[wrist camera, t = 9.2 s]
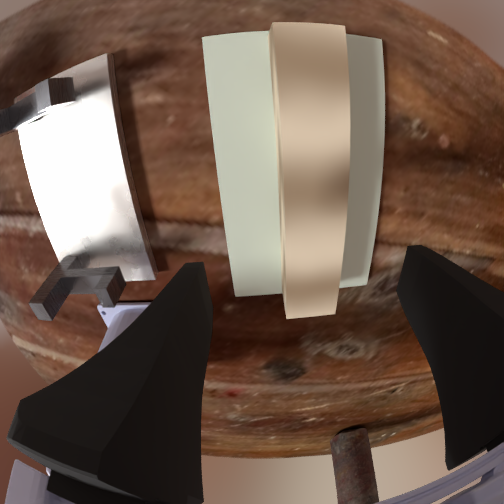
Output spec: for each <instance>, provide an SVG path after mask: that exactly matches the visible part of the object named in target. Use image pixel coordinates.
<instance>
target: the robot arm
mask: <svg viewBox="0 0 504 504" xmlns="http://www.w3.org/2000/svg"><path fill="white" fill-rule="evenodd" d="M396 291H397V294H398V297H399V299H400V302H401V305H402V308H403V310H404V313H405V315H406V317H407V319H408V321H409V323H410V325H411V327H412V329H413V331H414V333H415V335H416V337H417V339H418V341H419V343H420V345H421V347H422V349H423V351H424V353H425V355H426V358H427V360H428V362H429V365H430V367H431V370H432V374H433V377H434V380H435V384H436V387H437V391H438V396H439V400H440V405H441V410H442V416H443V423H444V431H445V447H446V448H445V450H446V452H445V453H446V454H445V458H446V459H445V462H446V466H447V469H448V470H451V469H453V468H455V467H457V466H459V465H461V464H463V463H464V462H466V461H468V460H470V459H472V458H473V457H475V456H477V455H479V454H480V453H482V452H483V451H485V450H487V451H488V453H486V454H485V455H483V456H481V457H480V458H478V459H477V460H475V461H473V462H471V463H469V464H468V465H466V466H464V467H462V468H460V469H458V470H456V471H455V472H453V473H451V474H449V475H447V476H445V477H442V478H440V479H438V480H436V481H434V482H432V483H429V484H427V485H425V486H422V487H420V488H417V489H415V490H412V491H410V492H407V493H405V494H402V495H399V496H396V497H393V498H390V499H387V500H384V501H381V502H377V503H374V504H431V503H433V502H435V501H437V500H439V499H441V498H443V497H445V496H447V495H449V494H451V493H453V492H455V491H457V490H458V489H460V488H462V487H464V486H466V485H467V484H469V483H471V482H472V481H474V480H476V479H477V478H479V477H481V476H482V475H483V476H482V479H481V481H480V482H479V483H478V484H476V485H474V486H472V487H470V488H468V489H466V490H463V491H461V492H460V493H458V494H456V495H454V496H452V497H450V498H449V499H447V500H445V501H444V502H442V503H441V504H504V292H502V291H500V290H498V289H496V288H494V287H493V286H491V285H489V284H488V283H486V282H484V281H483V280H481V279H479V278H477V277H476V276H474V275H473V274H471V273H469V272H468V271H466V270H465V269H463V268H461V267H460V266H458V265H456V264H455V263H453V262H452V261H450V260H448V259H447V258H445V257H443V256H442V255H440V254H438V253H436V252H435V251H433V250H431V249H429V248H427V247H424V246H422V245H414V246H408V247H407V251H406V255H405V259H404V264H403V268H402V271H401V275H400V279H399V283H398V286H397V290H396ZM97 308H98V310H99V312H100V314H101V316H102V318H103V320H104V321H105V323H106V325H107V327H108V330H107V332H106V334H105V337H104V339H103V341H102V344H101V346H100V348H99V351H98V353H97V354H95V355H94V356H93V357H92V358H90V359H89V360H88V361H86V362H85V363H84V364H82V365H81V366H79V367H78V368H77V369H75V370H74V371H72V372H71V373H69V374H67V375H66V376H64V377H63V378H61V379H59V380H58V381H56V382H54V383H53V384H51V385H49V386H47V387H45V388H43V389H42V390H40V391H38V392H36V393H34V394H32V395H30V396H28V397H26V398H24V399H22V400H20V403H19V405H18V408H17V410H16V413H15V415H14V418H13V421H12V424H11V427H10V429H9V433H8V435H7V440H8V442H9V443H10V444H11V445H13V446H14V447H15V448H17V449H18V450H19V451H21V452H22V453H24V454H26V455H27V456H29V457H30V458H32V459H33V460H35V461H37V462H38V463H40V464H42V465H44V466H45V467H46V472H47V473H48V475H49V476H47V475H45V474H43V473H41V472H39V471H37V470H36V469H34V468H32V467H30V466H28V465H26V464H25V463H23V462H21V461H19V460H15V462H14V465H13V469H12V473H11V477H10V481H9V486H8V490H7V495H6V501H5V504H202V503H203V502H204V498H203V486H202V470H201V408H202V394H203V386H204V379H205V373H206V367H207V361H208V355H209V349H210V343H211V337H212V325H213V305H212V300H211V296H210V291H209V286H208V282H207V277H206V272H205V268H204V263H203V262H193V263H185V264H184V265H183V266H182V268H181V269H180V270H179V271H178V272H177V273H176V275H175V276H174V277H173V278H172V279H171V281H170V282H169V283H168V284H167V285H166V286H165V288H164V289H163V290H162V291H161V292H160V293H159V295H158V296H157V297H156V298H155V299H154V300H153V301H152V302H142V303H117V304H116V306H115V308H103V307H102V305H101V303H99V305H98V307H97Z"/></svg>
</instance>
